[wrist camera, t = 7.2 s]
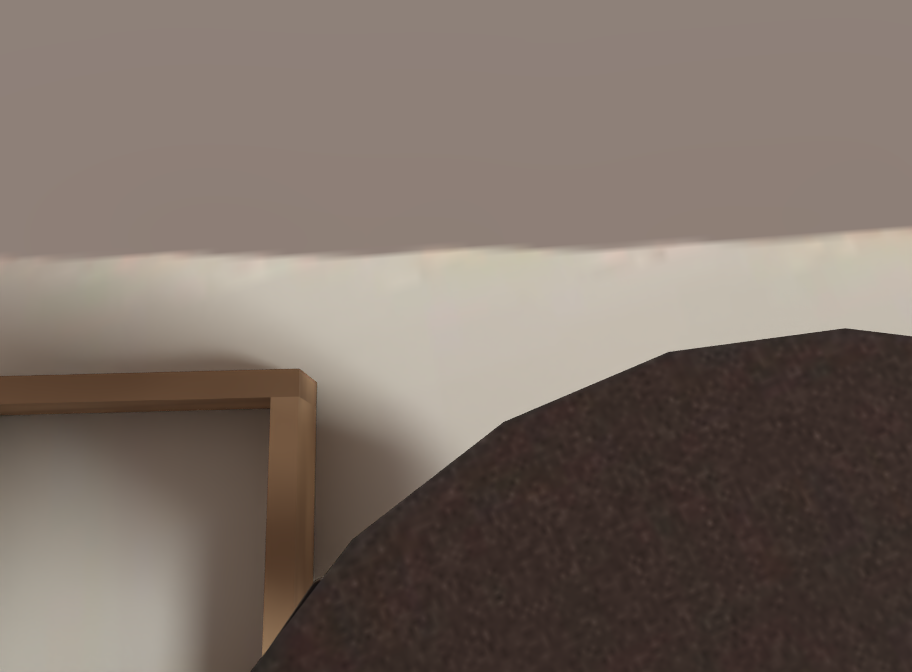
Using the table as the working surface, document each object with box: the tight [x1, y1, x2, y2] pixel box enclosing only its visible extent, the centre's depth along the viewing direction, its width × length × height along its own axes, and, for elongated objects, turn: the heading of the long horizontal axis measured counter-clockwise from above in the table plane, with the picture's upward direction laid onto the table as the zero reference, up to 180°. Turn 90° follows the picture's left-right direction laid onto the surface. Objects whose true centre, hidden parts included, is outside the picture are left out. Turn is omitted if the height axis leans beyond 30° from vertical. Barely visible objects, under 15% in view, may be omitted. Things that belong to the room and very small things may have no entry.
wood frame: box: [0, 369, 317, 656], centre depth 20 cm, size 11×11×2 cm
